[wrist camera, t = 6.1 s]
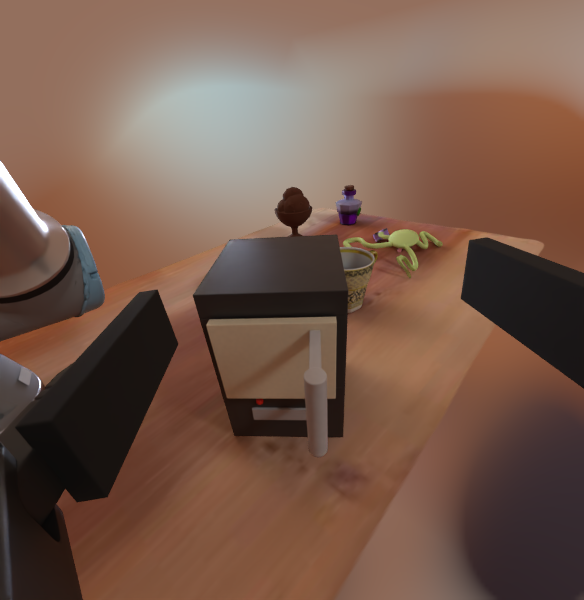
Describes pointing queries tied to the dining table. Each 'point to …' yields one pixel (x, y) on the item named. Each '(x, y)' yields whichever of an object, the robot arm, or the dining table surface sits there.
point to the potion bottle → (348, 206)
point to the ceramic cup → (357, 273)
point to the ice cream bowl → (293, 209)
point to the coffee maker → (278, 316)
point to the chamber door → (280, 364)
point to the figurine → (399, 244)
